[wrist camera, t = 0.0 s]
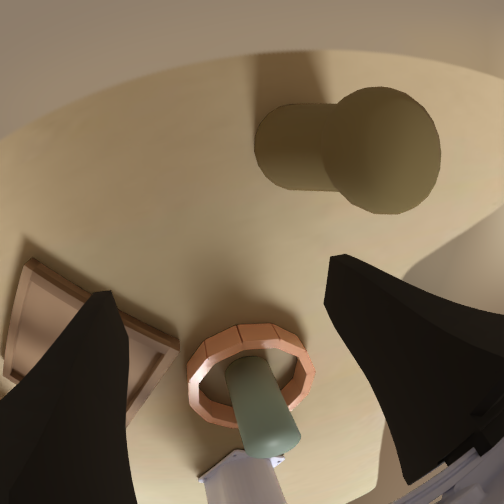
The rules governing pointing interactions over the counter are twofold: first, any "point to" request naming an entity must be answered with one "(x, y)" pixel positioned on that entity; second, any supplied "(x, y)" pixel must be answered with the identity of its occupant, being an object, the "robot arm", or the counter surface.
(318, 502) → the counter surface
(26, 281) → the walnut tray
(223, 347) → the faceted terracotta ring
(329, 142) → the olive pepper mill
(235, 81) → the counter surface
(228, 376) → the gray-green peg
